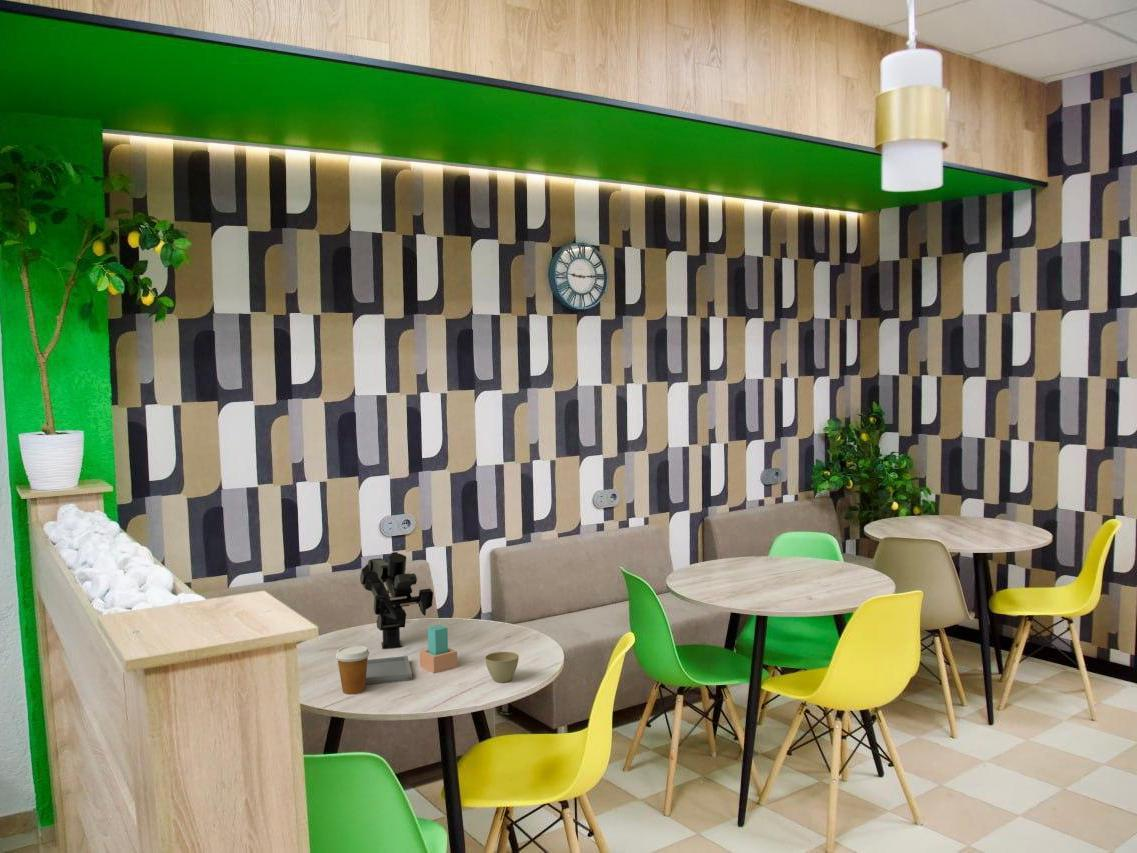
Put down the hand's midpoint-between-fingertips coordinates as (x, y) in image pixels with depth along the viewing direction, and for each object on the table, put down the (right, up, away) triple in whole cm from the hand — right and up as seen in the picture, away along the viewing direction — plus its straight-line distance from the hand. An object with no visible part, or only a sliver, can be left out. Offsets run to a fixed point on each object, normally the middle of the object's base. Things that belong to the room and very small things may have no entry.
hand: (410, 616), depth 286 cm
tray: (-7, -16, -6) cm, 19 cm away
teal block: (+9, -16, -1) cm, 18 cm away
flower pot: (+30, -16, -14) cm, 37 cm away
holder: (+9, -16, -1) cm, 18 cm away
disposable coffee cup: (-13, -17, -21) cm, 30 cm away
